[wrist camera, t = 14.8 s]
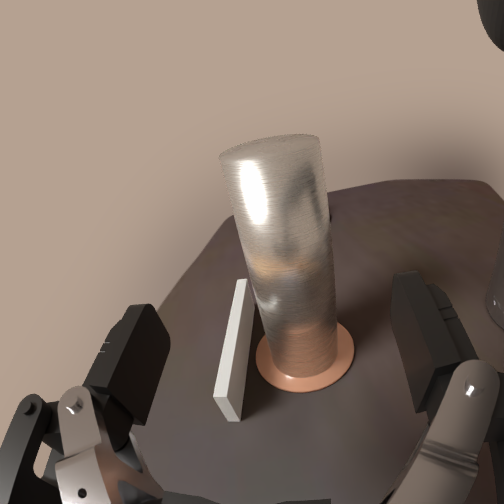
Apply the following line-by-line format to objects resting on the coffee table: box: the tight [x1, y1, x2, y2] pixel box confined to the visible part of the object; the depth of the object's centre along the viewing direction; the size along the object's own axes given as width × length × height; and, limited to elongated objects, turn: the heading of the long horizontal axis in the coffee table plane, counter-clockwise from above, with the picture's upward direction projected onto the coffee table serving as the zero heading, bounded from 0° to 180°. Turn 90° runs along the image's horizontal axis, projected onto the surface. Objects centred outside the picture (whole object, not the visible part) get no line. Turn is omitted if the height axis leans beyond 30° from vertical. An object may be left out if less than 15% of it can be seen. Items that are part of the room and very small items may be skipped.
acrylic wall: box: [213, 279, 255, 421], centre depth 27 cm, size 14×1×4 cm, turn 175°
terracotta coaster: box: [256, 322, 354, 393], centre depth 26 cm, size 9×9×1 cm
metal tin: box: [219, 134, 338, 378], centre depth 22 cm, size 6×6×18 cm
